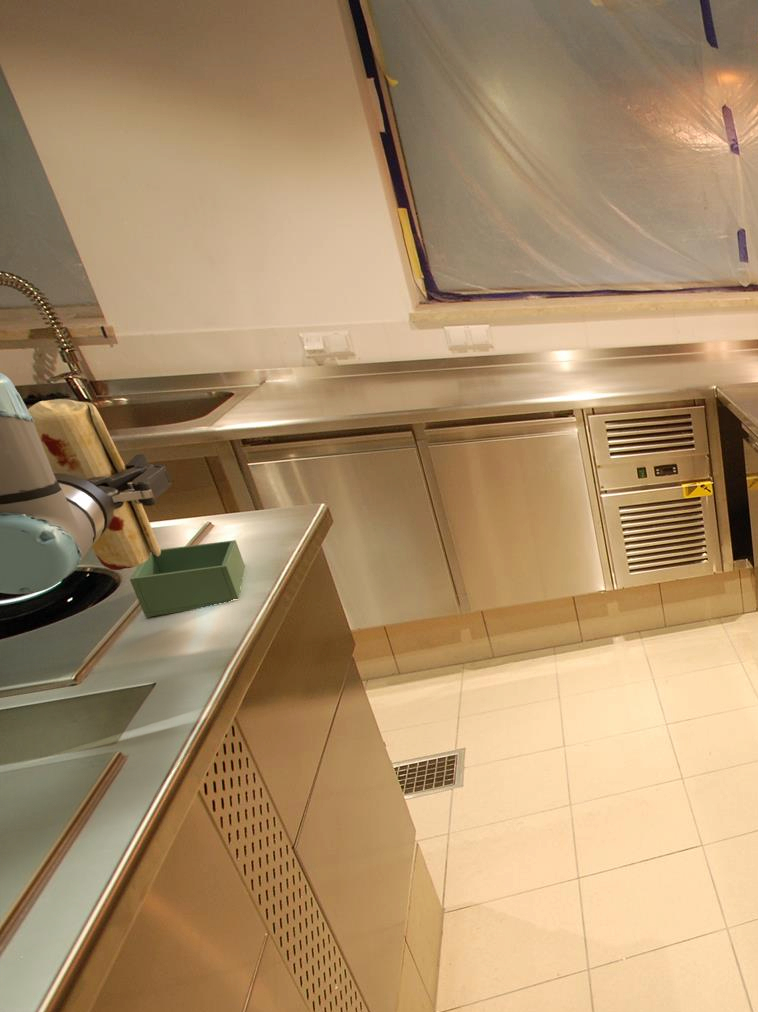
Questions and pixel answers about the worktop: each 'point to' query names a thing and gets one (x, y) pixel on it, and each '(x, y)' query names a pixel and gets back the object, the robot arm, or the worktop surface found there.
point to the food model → (94, 475)
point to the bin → (189, 578)
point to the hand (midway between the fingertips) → (104, 468)
